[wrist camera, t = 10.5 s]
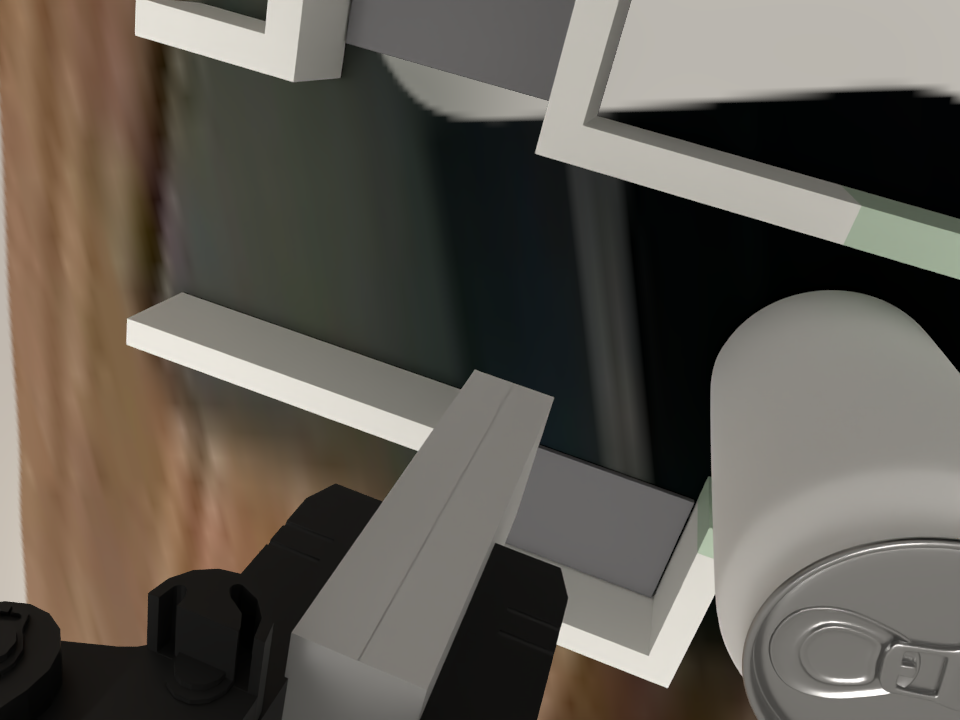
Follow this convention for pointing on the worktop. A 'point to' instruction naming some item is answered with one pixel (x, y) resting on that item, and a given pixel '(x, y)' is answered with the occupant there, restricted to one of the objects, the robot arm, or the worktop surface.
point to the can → (838, 511)
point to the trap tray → (422, 401)
